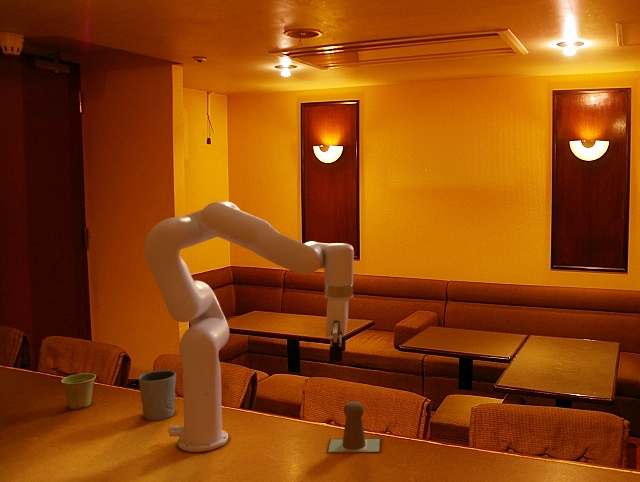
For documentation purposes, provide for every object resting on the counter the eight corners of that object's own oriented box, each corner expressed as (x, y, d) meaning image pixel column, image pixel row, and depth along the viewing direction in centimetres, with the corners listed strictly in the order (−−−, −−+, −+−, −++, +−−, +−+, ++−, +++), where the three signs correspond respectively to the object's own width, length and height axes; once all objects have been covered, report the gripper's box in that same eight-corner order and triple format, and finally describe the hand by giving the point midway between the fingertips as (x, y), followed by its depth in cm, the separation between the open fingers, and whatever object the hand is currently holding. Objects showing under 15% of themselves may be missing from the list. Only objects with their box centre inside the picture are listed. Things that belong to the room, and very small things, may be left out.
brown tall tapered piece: (362, 450, 154) (362, 408, 153) (339, 448, 155) (339, 406, 154) (368, 440, 160) (368, 400, 159) (346, 438, 161) (345, 398, 160)
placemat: (328, 452, 154) (328, 451, 154) (330, 439, 161) (330, 438, 161) (379, 452, 154) (379, 451, 154) (379, 439, 161) (379, 438, 161)
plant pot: (86, 411, 181) (85, 383, 181) (55, 411, 181) (54, 383, 181) (102, 400, 190) (101, 373, 190) (72, 400, 191) (71, 373, 190)
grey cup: (183, 413, 180) (183, 373, 179) (154, 424, 171) (153, 383, 171) (162, 406, 185) (161, 367, 185) (132, 417, 177) (131, 376, 176)
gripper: (327, 285, 166) (327, 346, 167) (320, 297, 149) (319, 365, 150) (355, 285, 166) (354, 347, 167) (350, 297, 149) (349, 366, 150)
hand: (337, 355), depth 158 cm, fingers open, 9 cm apart
